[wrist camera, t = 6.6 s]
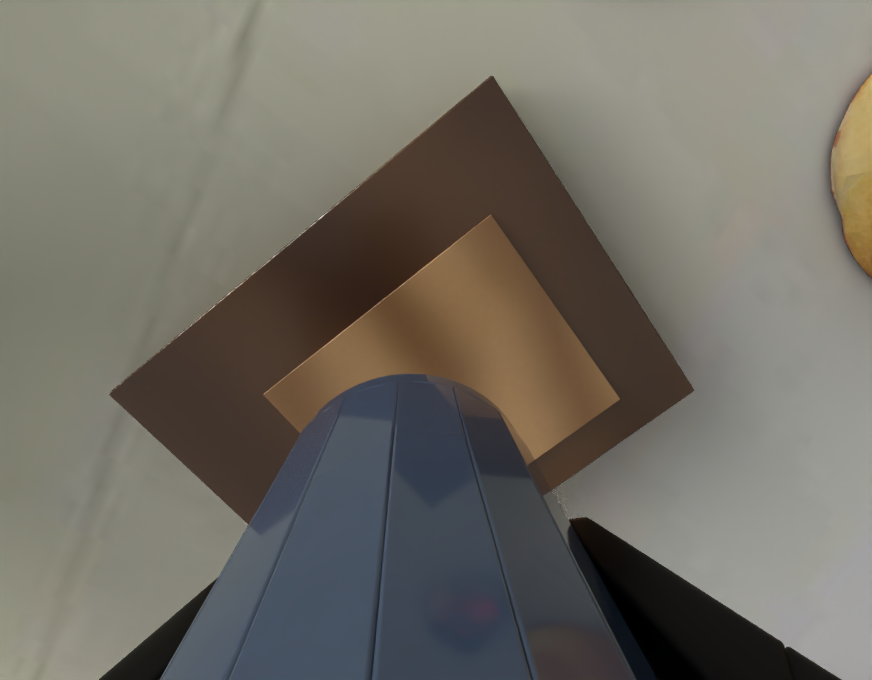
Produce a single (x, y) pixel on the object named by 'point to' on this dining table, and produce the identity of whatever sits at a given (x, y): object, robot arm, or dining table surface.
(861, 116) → the pastry
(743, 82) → the dining table surface
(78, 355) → the dining table surface
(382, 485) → the cup
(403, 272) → the desk board
